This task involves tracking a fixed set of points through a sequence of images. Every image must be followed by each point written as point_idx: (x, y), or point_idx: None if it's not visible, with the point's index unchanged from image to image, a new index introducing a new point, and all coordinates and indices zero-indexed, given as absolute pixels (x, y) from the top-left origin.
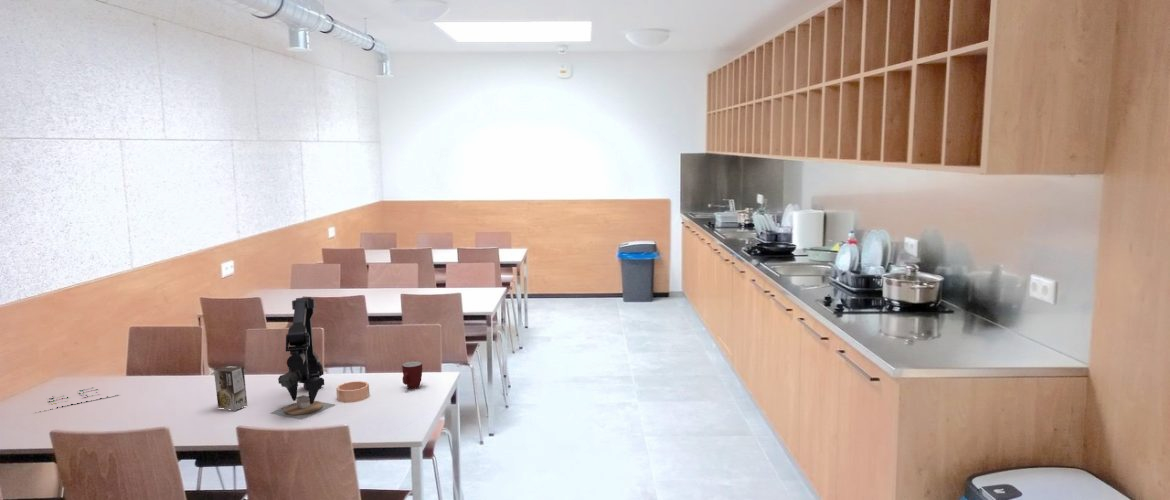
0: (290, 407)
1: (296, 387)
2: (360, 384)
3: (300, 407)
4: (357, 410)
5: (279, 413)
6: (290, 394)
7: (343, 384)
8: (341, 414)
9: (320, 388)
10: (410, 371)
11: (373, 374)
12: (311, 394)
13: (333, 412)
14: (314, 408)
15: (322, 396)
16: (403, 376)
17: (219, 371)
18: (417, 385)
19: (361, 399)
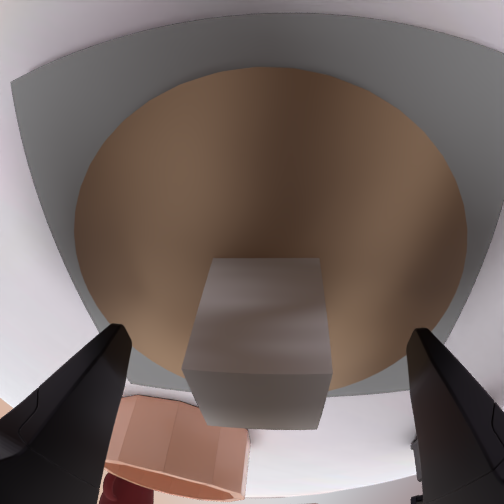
0: (405, 234)
1: (429, 492)
2: (194, 488)
3: (257, 265)
4: (29, 350)
5: (427, 67)
6: (474, 389)
7: (232, 495)
8: (13, 300)
9: (414, 446)
10: (104, 501)
11: (325, 491)
12: (19, 412)
13: (62, 312)
14: (121, 298)
15: (361, 425)
16: (107, 491)
17: None
18: None
19: None
